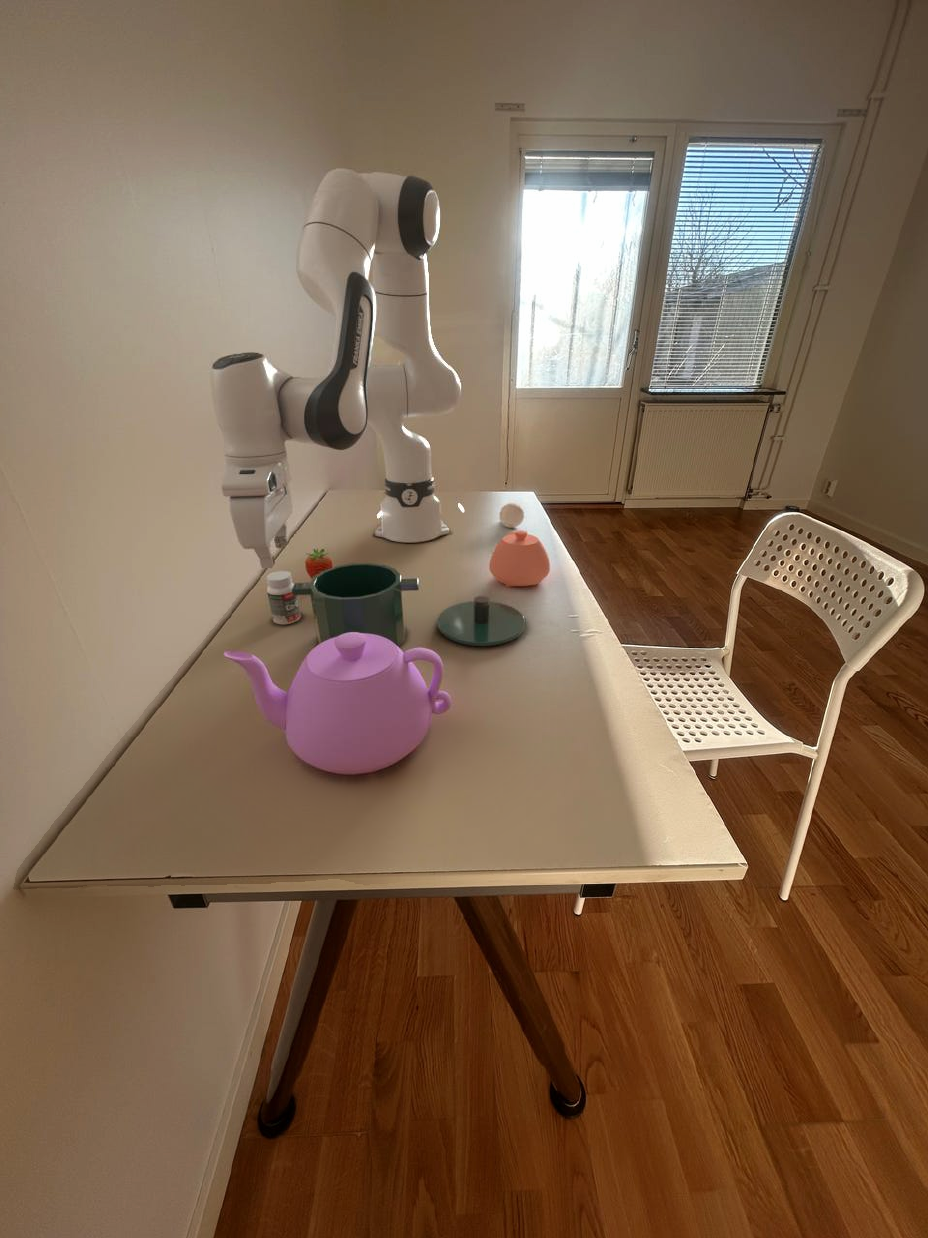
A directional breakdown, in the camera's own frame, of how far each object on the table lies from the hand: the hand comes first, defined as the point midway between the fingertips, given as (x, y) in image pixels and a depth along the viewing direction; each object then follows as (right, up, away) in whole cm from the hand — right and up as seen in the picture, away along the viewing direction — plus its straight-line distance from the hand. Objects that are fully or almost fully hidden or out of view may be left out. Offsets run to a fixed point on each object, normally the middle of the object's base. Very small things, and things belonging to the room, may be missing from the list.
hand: (275, 556), depth 85 cm
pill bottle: (0, -11, +6) cm, 12 cm away
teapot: (+17, -25, -21) cm, 37 cm away
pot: (+14, -14, 0) cm, 20 cm away
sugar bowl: (+43, -2, +21) cm, 48 cm away
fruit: (+3, -4, +19) cm, 19 cm away
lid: (+34, -11, +3) cm, 36 cm away
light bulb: (+44, +15, +53) cm, 70 cm away
